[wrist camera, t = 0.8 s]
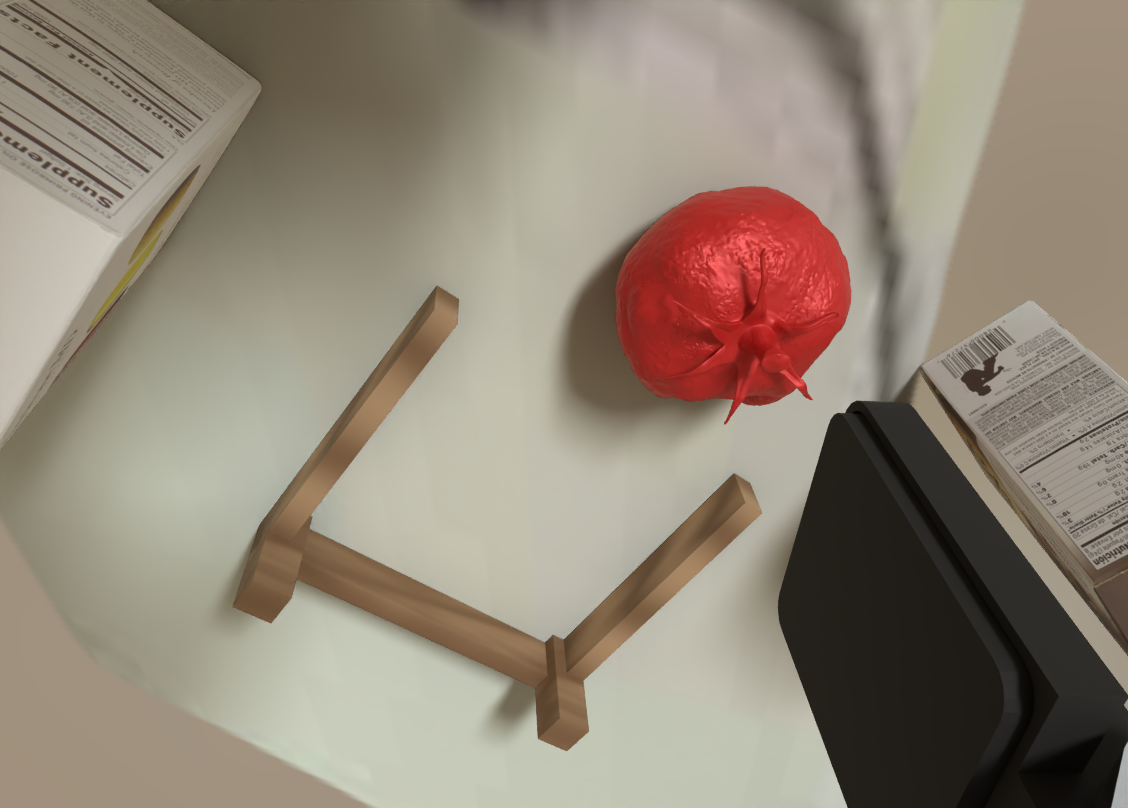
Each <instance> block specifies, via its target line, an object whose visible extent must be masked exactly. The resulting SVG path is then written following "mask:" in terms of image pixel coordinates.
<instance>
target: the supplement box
mask: <svg viewBox="0 0 1128 808" xmlns="http://www.w3.org/2000/svg"><path fill="white" fill-rule="evenodd" d="M261 89H262V86H261V84H260V83H259V82H258V81H257V80H256V79H254V78H253V77H252V76H250V75H249V74H248V73H246V72H245V71H244V70H242V69H241V68H240V67H238V66H237V65H236V64H234V63H233V62H231V61H230V60H229V59H227V58H226V57H225V56H223V55H222V54H220V53H219V52H218V51H216V50H215V49H213V48H212V47H211V46H209V45H208V44H207V43H205V42H204V41H202V40H201V39H200V38H198V37H197V36H195V35H194V34H193V33H191V32H190V31H189V30H187V29H186V28H184V27H183V26H182V25H180V24H179V23H177V22H176V21H175V20H173V19H172V18H170V17H169V16H168V15H166V14H165V13H163V12H162V11H161V10H159V9H158V8H157V7H155V6H154V5H152V4H151V3H150V2H148V1H147V0H0V450H1V449H2V447H3V446H4V445H5V443H6V442H7V441H8V440H9V438H10V437H11V436H12V435H13V433H14V432H15V431H16V430H17V428H18V427H19V426H20V425H21V423H22V422H23V421H24V420H25V418H26V417H27V416H28V415H29V413H30V412H31V411H32V410H33V408H34V407H35V406H36V405H37V403H38V402H39V401H40V400H41V398H42V397H43V396H44V395H45V393H46V392H47V391H48V390H49V388H50V387H51V386H52V385H53V383H54V382H55V381H56V380H57V378H58V377H59V376H60V375H61V373H62V372H63V371H64V370H65V368H66V367H67V366H68V365H69V363H70V362H71V361H72V360H73V358H74V357H75V356H76V355H77V353H78V352H79V351H80V350H81V348H82V347H83V346H84V345H85V343H86V342H87V341H88V340H89V338H90V337H91V336H92V335H93V333H94V332H95V331H96V330H97V328H98V327H99V326H100V325H101V323H102V322H103V321H104V320H105V318H106V317H107V316H108V315H109V313H110V312H111V311H112V310H113V308H114V307H115V306H116V305H117V304H118V302H119V301H120V300H121V299H122V297H123V296H124V295H125V294H126V292H127V291H128V290H129V289H130V287H131V286H132V285H133V284H134V282H135V281H136V280H137V279H138V277H139V276H140V275H141V274H142V272H143V271H144V270H145V269H146V268H147V266H148V265H149V264H150V263H151V261H152V260H153V259H154V257H155V256H156V255H157V253H158V252H159V250H160V249H161V248H162V246H163V245H164V243H165V242H166V240H167V239H168V237H169V236H170V234H171V233H172V231H173V229H174V228H175V226H176V225H177V223H178V222H179V220H180V219H181V217H182V216H183V214H184V213H185V211H186V210H187V208H188V207H189V205H190V204H191V202H192V201H193V199H194V198H195V196H196V194H197V193H198V191H199V190H200V188H201V187H202V185H203V184H204V182H205V181H206V179H207V178H208V176H209V174H210V173H211V171H212V170H213V168H214V167H215V165H216V163H217V162H218V160H219V159H220V157H221V156H222V154H223V152H224V151H225V149H226V148H227V146H228V144H229V143H230V141H231V140H232V138H233V136H234V135H235V133H236V132H237V130H238V128H239V127H240V125H241V124H242V122H243V120H244V119H245V117H246V116H247V114H248V112H249V111H250V109H251V108H252V106H253V104H254V103H255V101H256V99H257V97H258V96H259V94H260V92H261Z"/></svg>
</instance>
